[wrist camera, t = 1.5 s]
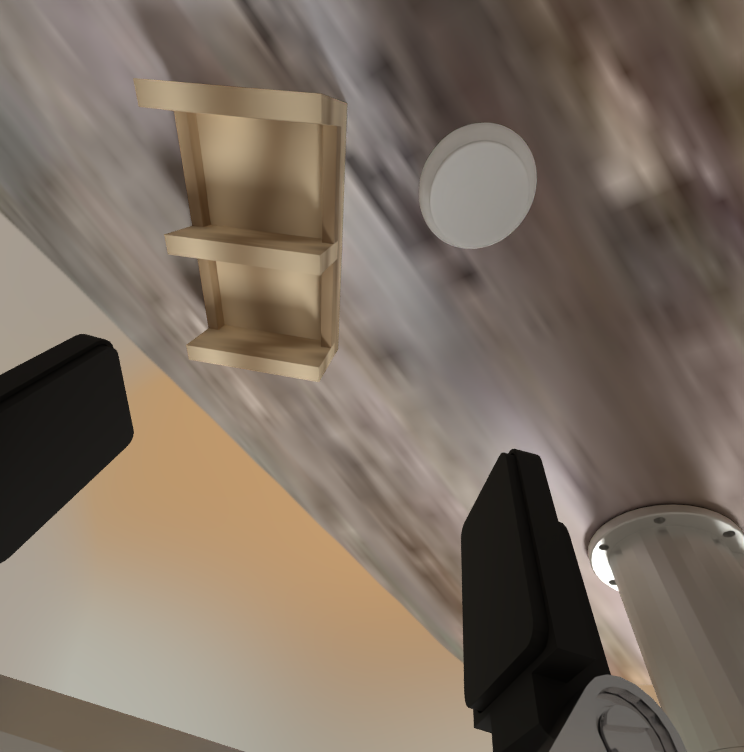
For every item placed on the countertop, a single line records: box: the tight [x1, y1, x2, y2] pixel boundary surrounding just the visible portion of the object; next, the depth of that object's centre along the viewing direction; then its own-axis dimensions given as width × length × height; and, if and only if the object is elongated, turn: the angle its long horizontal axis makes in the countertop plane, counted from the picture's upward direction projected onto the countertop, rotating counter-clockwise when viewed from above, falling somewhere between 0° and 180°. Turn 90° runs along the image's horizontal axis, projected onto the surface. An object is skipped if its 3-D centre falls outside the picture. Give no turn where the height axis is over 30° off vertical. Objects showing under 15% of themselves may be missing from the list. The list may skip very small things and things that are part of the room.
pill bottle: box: [419, 123, 537, 249], centre depth 20 cm, size 5×5×10 cm
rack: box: [133, 78, 347, 382], centre depth 26 cm, size 10×17×5 cm, turn 176°
